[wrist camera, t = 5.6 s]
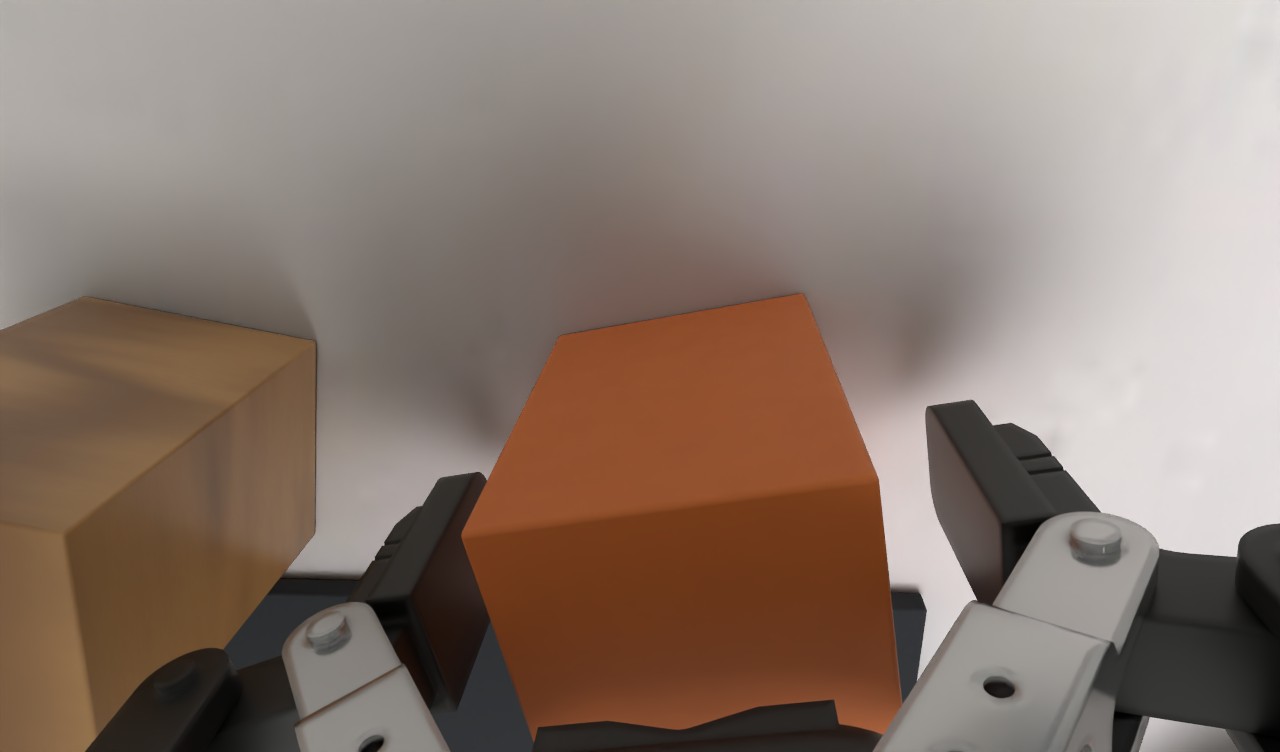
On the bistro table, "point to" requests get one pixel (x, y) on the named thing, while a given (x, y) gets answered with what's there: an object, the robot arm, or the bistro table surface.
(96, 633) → the oak block
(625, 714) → the orange block
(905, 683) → the mat
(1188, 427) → the bistro table surface
